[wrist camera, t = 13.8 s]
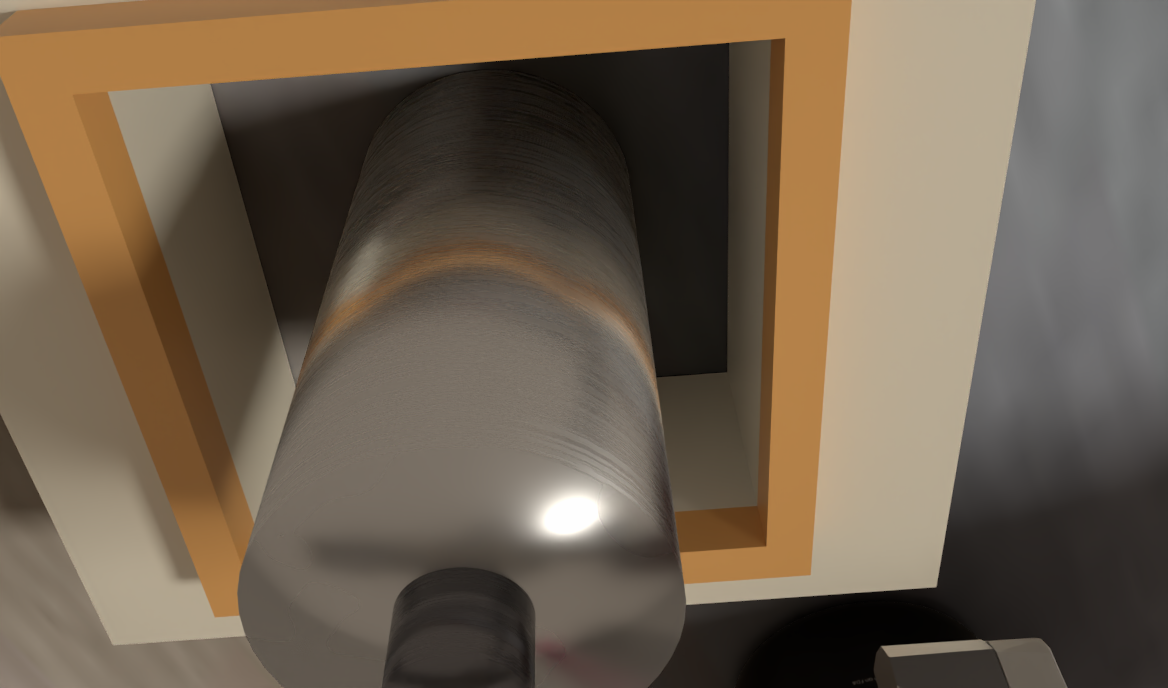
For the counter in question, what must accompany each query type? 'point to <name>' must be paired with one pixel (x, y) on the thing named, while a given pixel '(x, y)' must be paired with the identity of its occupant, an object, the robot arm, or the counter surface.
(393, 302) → the oil can
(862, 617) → the supplement bottle
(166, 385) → the white box frame
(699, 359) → the counter surface
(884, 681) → the robot arm
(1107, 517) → the counter surface
